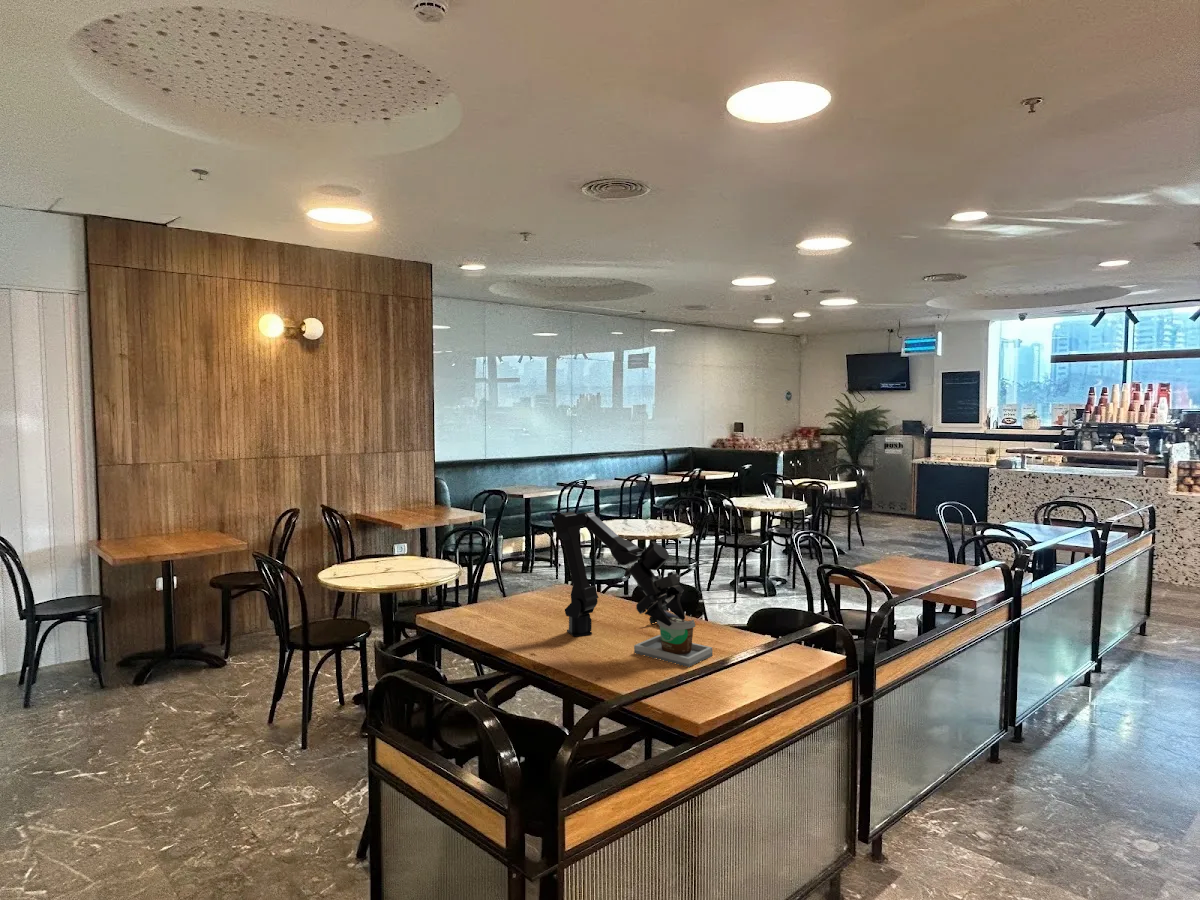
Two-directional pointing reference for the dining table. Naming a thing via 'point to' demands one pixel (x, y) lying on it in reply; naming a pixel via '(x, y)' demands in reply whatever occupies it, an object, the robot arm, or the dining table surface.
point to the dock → (654, 650)
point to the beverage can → (653, 620)
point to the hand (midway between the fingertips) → (677, 622)
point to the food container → (676, 635)
